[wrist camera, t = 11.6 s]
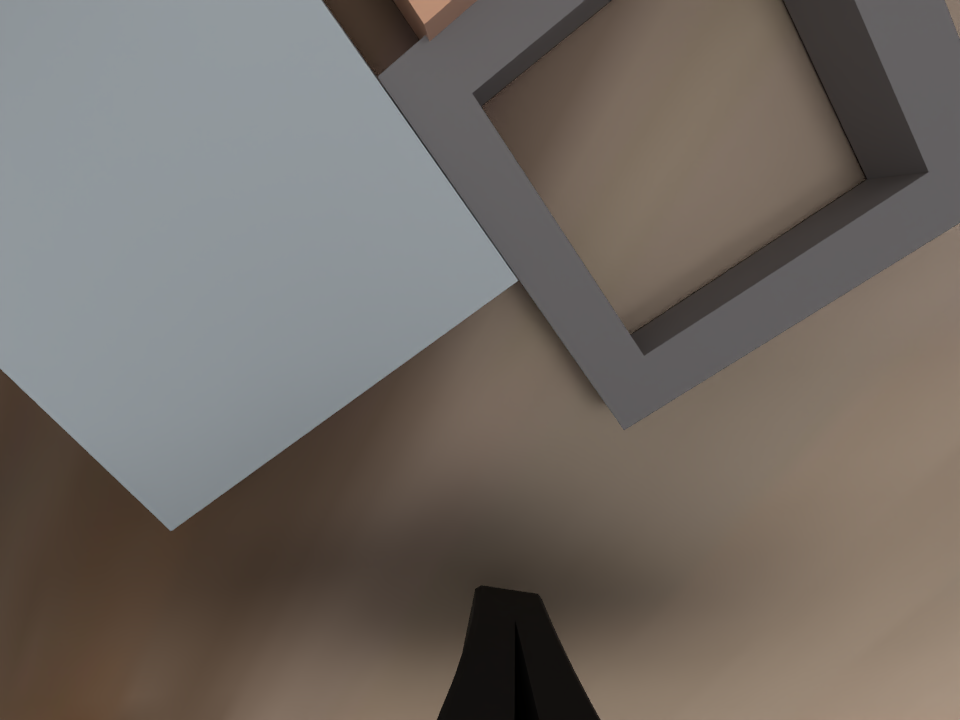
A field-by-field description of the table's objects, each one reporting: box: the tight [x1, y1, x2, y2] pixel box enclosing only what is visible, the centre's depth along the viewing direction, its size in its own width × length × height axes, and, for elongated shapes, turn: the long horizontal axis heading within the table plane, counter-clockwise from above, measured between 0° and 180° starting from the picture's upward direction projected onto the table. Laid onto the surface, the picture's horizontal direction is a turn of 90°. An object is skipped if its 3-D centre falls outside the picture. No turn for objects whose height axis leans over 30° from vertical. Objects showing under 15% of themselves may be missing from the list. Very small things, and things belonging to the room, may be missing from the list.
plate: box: [0, 0, 518, 531], centre depth 8 cm, size 8×8×2 cm
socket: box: [378, 0, 960, 430], centre depth 8 cm, size 7×7×1 cm
